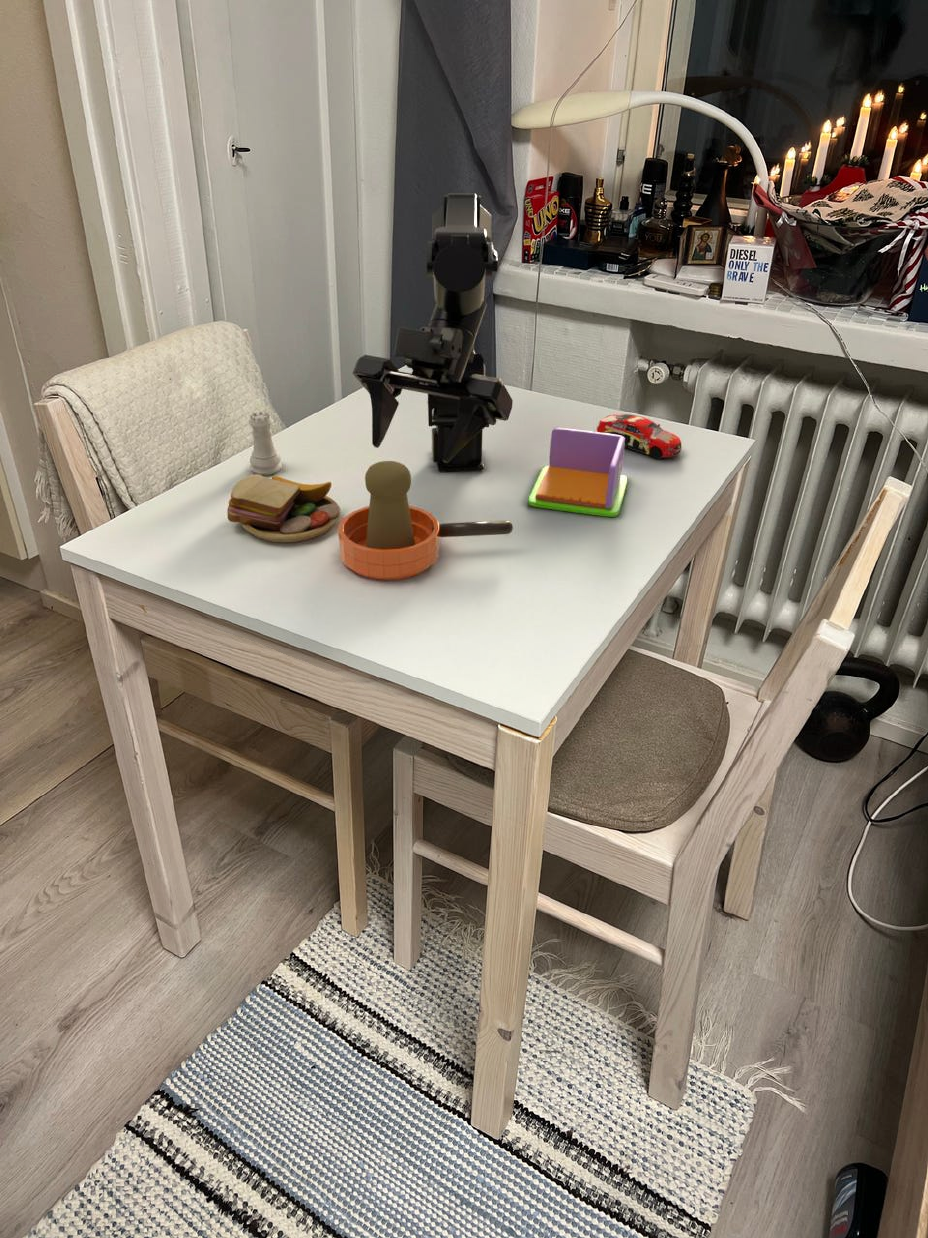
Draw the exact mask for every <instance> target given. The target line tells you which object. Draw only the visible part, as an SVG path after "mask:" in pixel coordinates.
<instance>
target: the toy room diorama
mask: <svg viewBox="0 0 928 1238" xmlns="http://www.w3.org/2000/svg"><path fill="white" fill-rule="evenodd" d="M549 448H550V449H549V462H548V463H549V465H545V466H543V467H542V469H541V471H540V473H539V474H538V476H537V479H536V480H535V483H534V485H533V487H532V489H531V492H530V494H529V496H528V500H527V503H528V505H529V506H530V507H535V508H540V509H547V510H553V511H554V510H555V511H561V512H562V511H563V512H569V513H577V514H582V515H583V514H584V515H590V516H591V515H592V516H599V517H606V518H614V517H615V518H616V517H617V516H618V515H619V513H620V511H621V507H622V504H623V501H624V497H625V493H626V490H627V485H628V477H627V476H626V475H624V474H622V472H623V471H622V470H623V463H624V454H625V448H626V447H625V438H624V437H623V436H621V435H616V434H608V433H600V432H597V431H591V430H582V429H573V428H566V427H565V428H564V427H555V428H553V429H552V431H551V436H550V447H549Z"/></svg>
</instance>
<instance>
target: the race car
mask: <svg viewBox="0 0 928 1238" xmlns="http://www.w3.org/2000/svg"><path fill="white" fill-rule="evenodd" d="M596 432H600V433H608V434H616V435H621V436H623V437H624V438H625V447H624V448H626V449H629V450H633V451H637V452H639V453H643V454H646V455H650V456H651V458H652V459H654V460H660V459H661V458H671V457H675V456H677V455H678V456H679V454H680V453H681V452H682V440H681V438H680V437H679V436H677V435H676V434H674V433H672V432H670V431H668V430H666V429H664V428H662V427H661V424H660V423H658V424H657V423H656V422H654V421H653V420H651V419H649V418H646V417H643V416H640V415H637V414H630V413H628V414H627V413H622V414H609V415H606V416H604V417H603V418H601V419H600V421H599V423H598V425H597V427H596Z"/></svg>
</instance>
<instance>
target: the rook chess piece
mask: <svg viewBox="0 0 928 1238" xmlns="http://www.w3.org/2000/svg"><path fill="white" fill-rule="evenodd" d="M273 422H274V420H273V419H272V418H271V415H270V413H269V412H268V411H264V412H263V410H260V411H259V410H258V414H257V412H256V411H254V412H252V413H251V414H250V418H249V420H248V425H250V426H251V427H252V430H251V434H252V437H253V451H252V452H251V456H250V457H249V463H250V465H249V469H250V470H251V471H252V472H253V473H254V474H259V475H262V476H270V475H274V474H277V473H278V472H280V470H281V469H282V468H283V463H282V462H281V461H282V458H281V455H280V454H279V453H278V451H277V450H276V448H275V446H274V441H273V438H272V437H273V436H272V433H273V429H271V426H272V424H273Z"/></svg>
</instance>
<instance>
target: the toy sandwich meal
mask: <svg viewBox="0 0 928 1238" xmlns="http://www.w3.org/2000/svg"><path fill="white" fill-rule="evenodd" d="M331 488H332V482H331V481H328V482H324V483H316V484H315V483H313V484H308V483H307V484H306V483H299V482H296V481H293V480H289V479H286V478H283V477H281V476H277V475H273V476H272V477H271V478H269V477H266V476H264V475H259V474H256V473H254V474H251V475H248V476H246V477H244V478H242V479H240V480H239V481H238V482H237V483H236V484H235V485H234V486H233V487H232V490H231V493H230V499H229V500H228V506H227V512H226V513H227V520H228V522H230V523H239V524H240V525H241V526H242V528H243V529H245V531H247V532H249V533H250V534H252V535H253V536H255V537H256V538H259V539H261V540H265V541H268V542H275V543H297V542H303V541H306V540H307V541H308V540H311V539H314V538H316V537H319V536H321V535H323V534H325V533H326V532H328V530H330V529H331V528H332V527H333V526H334V525H335V524H336V523H337V521H338V520H339V518H340V516H341V507H340V505H339V504H338V503H337V502H336V501H335V500H334V499H332V497H329V496H328V494H329V492H330V491H331Z"/></svg>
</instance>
